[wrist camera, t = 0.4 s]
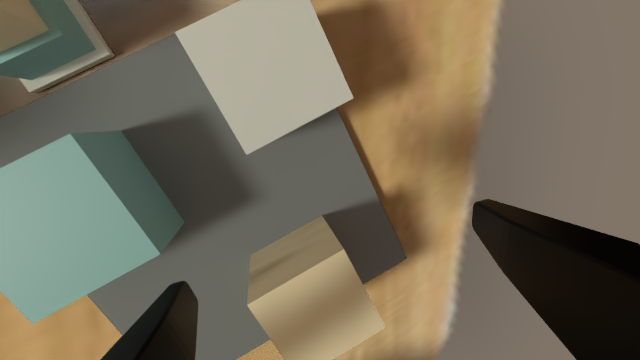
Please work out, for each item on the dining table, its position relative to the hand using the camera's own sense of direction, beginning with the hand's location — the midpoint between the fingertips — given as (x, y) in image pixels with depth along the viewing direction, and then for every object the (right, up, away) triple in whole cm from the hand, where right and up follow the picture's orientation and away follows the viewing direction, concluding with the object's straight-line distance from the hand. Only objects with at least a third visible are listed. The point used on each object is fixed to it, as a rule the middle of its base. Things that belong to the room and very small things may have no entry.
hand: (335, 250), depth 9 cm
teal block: (-14, +1, +10) cm, 17 cm away
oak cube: (-2, -5, +13) cm, 14 cm away
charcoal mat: (-7, 0, +12) cm, 14 cm away
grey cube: (-4, +8, +10) cm, 14 cm away
